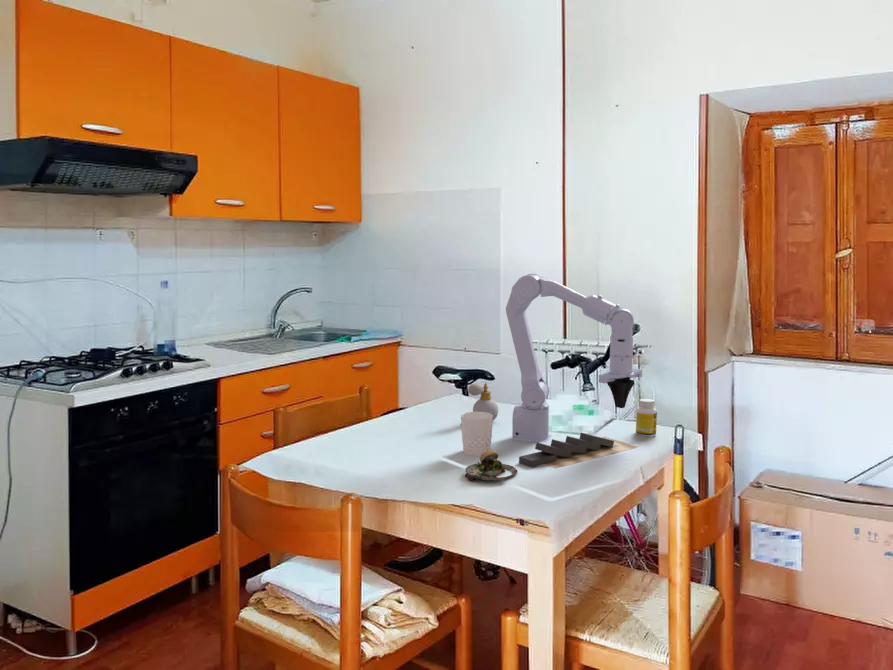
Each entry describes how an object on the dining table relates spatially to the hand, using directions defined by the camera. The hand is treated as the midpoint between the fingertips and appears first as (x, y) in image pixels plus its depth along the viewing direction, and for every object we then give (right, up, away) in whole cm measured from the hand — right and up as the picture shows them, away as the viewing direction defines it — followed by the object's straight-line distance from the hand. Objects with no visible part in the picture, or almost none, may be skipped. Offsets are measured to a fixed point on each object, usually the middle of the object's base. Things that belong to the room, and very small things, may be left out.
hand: (620, 407), depth 201 cm
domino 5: (-4, -9, -2) cm, 10 cm away
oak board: (-11, -11, -7) cm, 17 cm away
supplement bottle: (+9, -9, +10) cm, 16 cm away
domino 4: (-8, -9, -5) cm, 13 cm away
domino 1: (-20, -11, -14) cm, 27 cm away
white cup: (-37, -11, -7) cm, 40 cm away
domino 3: (-12, -10, -8) cm, 17 cm away
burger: (-35, -14, -24) cm, 45 cm away
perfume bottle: (-34, -7, +26) cm, 43 cm away
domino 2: (-16, -10, -11) cm, 22 cm away
